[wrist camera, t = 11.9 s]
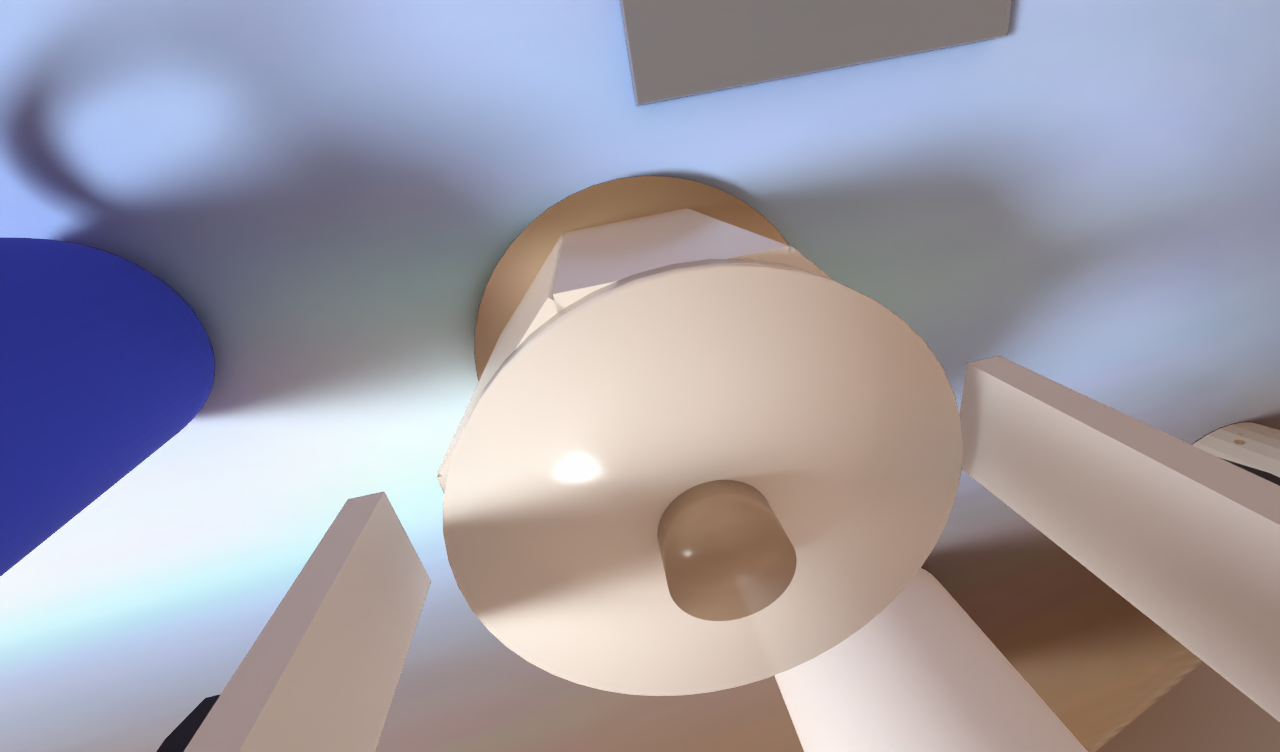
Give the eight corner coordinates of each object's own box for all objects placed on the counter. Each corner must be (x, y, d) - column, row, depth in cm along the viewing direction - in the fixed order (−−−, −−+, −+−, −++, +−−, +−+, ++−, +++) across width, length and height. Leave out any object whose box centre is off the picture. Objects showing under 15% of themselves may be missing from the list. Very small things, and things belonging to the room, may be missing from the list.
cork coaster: (424, 216, 16) (419, 218, 15) (803, 142, 16) (811, 141, 15) (530, 516, 21) (529, 526, 20) (810, 454, 21) (816, 462, 21)
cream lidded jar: (468, 248, 16) (299, 373, 6) (777, 187, 16) (1070, 216, 6) (549, 498, 20) (524, 795, 11) (789, 445, 20) (972, 685, 11)
